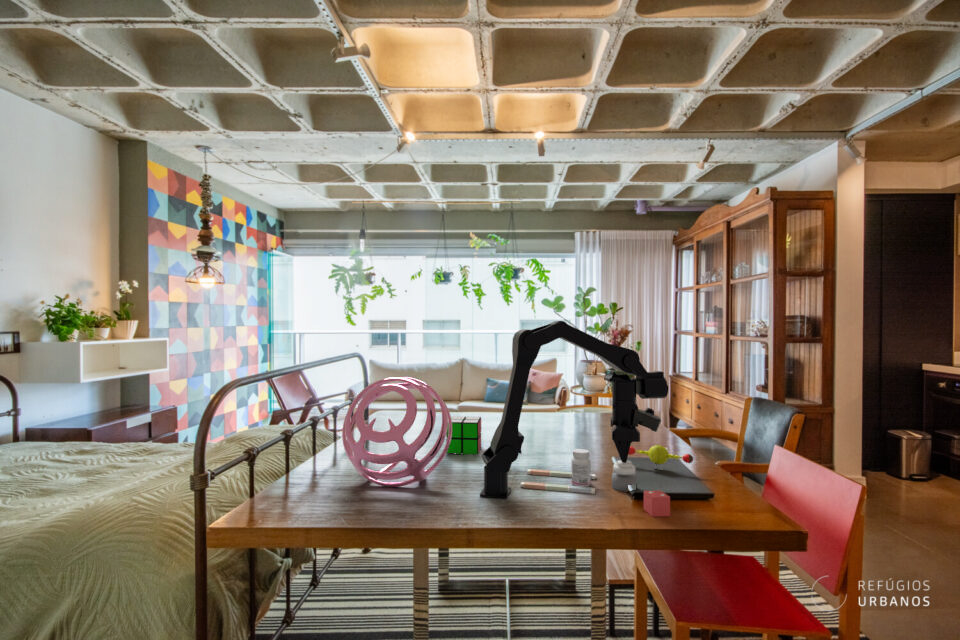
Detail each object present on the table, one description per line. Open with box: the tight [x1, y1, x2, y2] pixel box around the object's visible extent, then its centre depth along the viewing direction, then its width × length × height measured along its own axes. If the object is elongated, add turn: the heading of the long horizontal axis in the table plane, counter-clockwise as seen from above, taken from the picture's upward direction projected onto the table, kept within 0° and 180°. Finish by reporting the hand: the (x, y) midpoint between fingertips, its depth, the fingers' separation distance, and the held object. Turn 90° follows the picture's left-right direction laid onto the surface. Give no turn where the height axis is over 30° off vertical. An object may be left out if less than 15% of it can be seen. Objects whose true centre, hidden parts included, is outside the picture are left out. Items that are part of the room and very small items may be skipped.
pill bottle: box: [571, 448, 592, 487], centre depth 123 cm, size 5×5×8 cm
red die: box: [643, 490, 671, 518], centre depth 105 cm, size 4×4×4 cm
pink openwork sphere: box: [341, 376, 452, 488], centre depth 127 cm, size 28×28×27 cm
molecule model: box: [628, 444, 694, 465], centre depth 136 cm, size 18×6×7 cm, turn 58°
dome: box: [612, 459, 636, 475], centre depth 121 cm, size 5×5×2 cm
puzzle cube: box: [445, 415, 482, 455], centre depth 156 cm, size 10×10×10 cm
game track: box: [519, 468, 638, 495], centre depth 124 cm, size 13×28×3 cm, turn 76°
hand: (624, 462), depth 121 cm, fingers closed, pressing on dome
